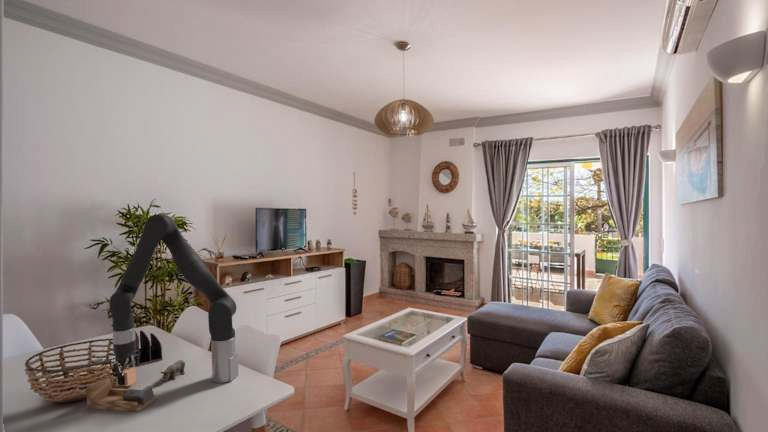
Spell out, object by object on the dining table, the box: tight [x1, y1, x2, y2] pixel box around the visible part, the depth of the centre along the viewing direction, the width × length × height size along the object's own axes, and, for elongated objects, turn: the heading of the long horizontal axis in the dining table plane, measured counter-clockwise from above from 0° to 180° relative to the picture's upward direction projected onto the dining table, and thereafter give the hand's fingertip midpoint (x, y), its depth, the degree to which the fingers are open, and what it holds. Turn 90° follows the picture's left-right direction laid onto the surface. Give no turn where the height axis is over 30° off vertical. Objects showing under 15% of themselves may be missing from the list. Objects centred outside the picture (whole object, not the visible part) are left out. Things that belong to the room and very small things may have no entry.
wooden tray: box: [85, 376, 157, 413], centre depth 145 cm, size 20×9×8 cm, turn 83°
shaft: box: [123, 385, 154, 404], centre depth 145 cm, size 8×4×4 cm, turn 83°
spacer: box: [116, 367, 137, 387], centre depth 157 cm, size 4×4×6 cm
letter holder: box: [135, 330, 163, 367], centre depth 186 cm, size 10×20×14 cm, turn 42°
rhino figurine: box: [160, 359, 186, 383], centre depth 165 cm, size 4×14×6 cm, turn 168°
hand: (126, 381), depth 158 cm, fingers closed on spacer, 4 cm apart
